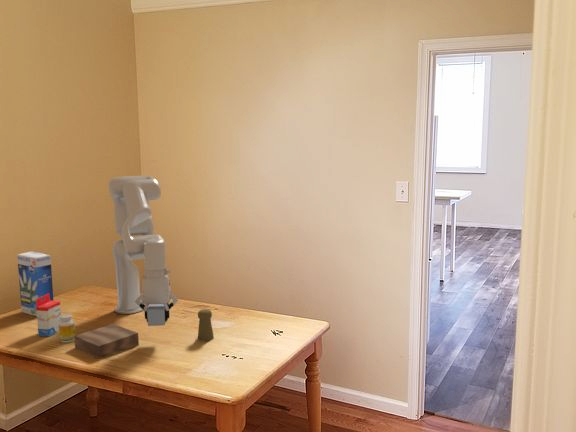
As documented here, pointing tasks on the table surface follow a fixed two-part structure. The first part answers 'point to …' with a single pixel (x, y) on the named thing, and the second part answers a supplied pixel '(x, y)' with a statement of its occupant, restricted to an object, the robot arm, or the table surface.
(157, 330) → the table surface
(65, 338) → the supplement bottle
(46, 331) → the ink box
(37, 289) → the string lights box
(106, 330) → the walnut block
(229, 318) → the table surface
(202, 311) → the cork
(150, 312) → the blue cube
